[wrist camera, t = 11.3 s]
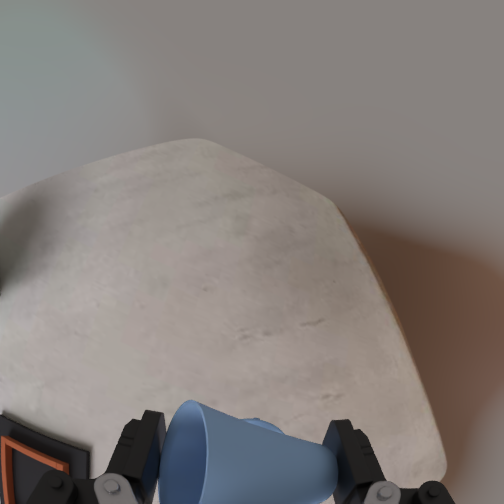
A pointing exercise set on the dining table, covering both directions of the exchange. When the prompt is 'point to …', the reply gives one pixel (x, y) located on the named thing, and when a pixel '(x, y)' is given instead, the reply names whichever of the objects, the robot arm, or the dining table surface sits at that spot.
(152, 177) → the dining table surface
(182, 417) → the spotlight
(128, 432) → the robot arm
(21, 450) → the pad
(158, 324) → the dining table surface
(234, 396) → the dining table surface
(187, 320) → the dining table surface
